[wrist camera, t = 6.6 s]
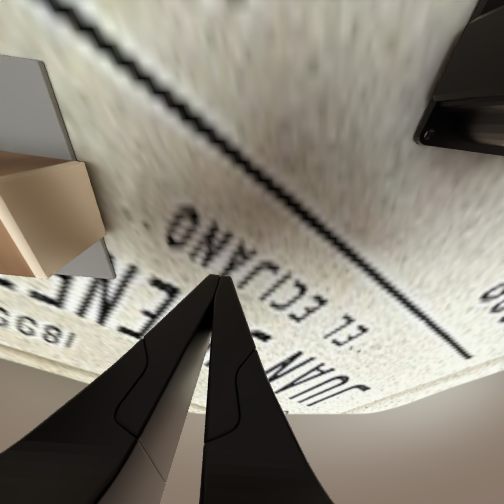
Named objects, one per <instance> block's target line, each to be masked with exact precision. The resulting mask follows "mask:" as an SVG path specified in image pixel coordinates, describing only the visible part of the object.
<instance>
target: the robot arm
mask: <svg viewBox="0 0 504 504" xmlns="http://www.w3.org/2000/svg"><path fill="white" fill-rule="evenodd" d="M428 130H429V135H428V136H427V138H424V136H425V133H426V132H427V131H428ZM415 142H416V143H417V144H421V145H428V146H436V147H443V148H450V149H457V150H465V151H472V152H479V153H486V154H494V155H501V156H504V0H481V1H480V3H479V5H478V7H477V9H476V11H475V13H474V15H473V17H472V19H471V21H470V23H469V24H468V25H467V27H466V28H465V30H464V33H463V35H462V37H461V39H460V41H459V43H458V45H457V47H456V49H455V51H454V53H453V55H452V57H451V59H450V61H449V63H448V65H447V68H446V70H445V72H444V74H443V76H442V78H441V80H440V82H439V84H438V86H437V88H436V90H435V92H434V97H433V99H432V101H431V103H430V105H429V107H428V109H427V111H426V113H425V115H424V117H423V119H422V121H421V123H420V125H419V128H418V130H417V132H416V134H415ZM210 338H211V347H210V361H209V376H208V390H207V404H206V419H205V434H204V447H203V461H202V474H201V475H202V476H201V488H200V499H199V504H335V503H334V502H333V500H332V499H331V498H330V496H329V495H328V494H327V492H326V491H325V489H324V488H323V486H322V485H321V483H320V482H319V480H318V478H317V477H316V475H315V473H314V472H313V470H312V468H311V466H310V464H309V463H308V461H307V459H306V457H305V455H304V453H303V451H302V449H301V447H300V445H299V443H298V441H297V439H296V437H295V435H294V433H293V431H292V429H291V427H290V425H289V423H288V421H287V419H286V416H285V414H284V412H283V410H282V408H281V406H280V404H279V402H278V400H277V398H276V396H275V394H274V392H273V389H272V387H271V385H270V383H269V381H268V378H267V376H266V373H265V371H264V368H263V365H262V363H261V360H260V357H259V355H258V352H257V350H256V346H255V344H254V341H253V338H252V335H251V332H250V329H249V327H248V324H247V321H246V318H245V315H244V312H243V309H242V307H241V304H240V301H239V298H238V295H237V292H236V290H235V287H234V284H233V281H232V278H231V277H230V276H223V275H222V276H220V275H215V274H210V275H208V276H207V277H206V278H205V279H204V280H203V281H202V282H201V283H200V284H199V285H198V286H197V287H196V288H195V289H194V290H193V291H191V292H190V293H189V294H188V295H187V296H186V297H185V298H184V299H183V300H182V301H181V302H180V303H179V304H178V305H177V306H176V307H175V308H173V309H172V310H171V311H170V312H169V313H168V314H167V315H166V316H165V317H164V318H163V319H162V320H161V321H160V322H159V323H158V324H157V325H156V326H154V327H153V328H152V329H151V330H150V331H149V332H148V333H147V334H146V335H145V336H144V339H141V340H140V341H138V342H137V343H136V344H135V345H134V346H133V347H132V348H131V349H130V350H129V351H128V352H127V353H126V354H124V355H123V356H122V357H121V358H120V359H119V360H118V361H117V362H116V363H114V364H113V365H112V366H111V367H110V368H108V369H107V370H106V371H105V372H104V373H102V374H101V375H100V376H99V377H98V378H96V379H95V380H94V381H93V382H92V383H90V384H89V385H88V386H87V387H85V388H84V389H83V390H82V391H80V392H79V393H78V394H77V395H75V396H74V397H73V398H72V399H70V400H69V401H68V402H67V403H65V405H63V406H62V407H60V408H59V409H58V410H57V411H56V412H54V413H53V414H52V415H50V416H49V417H48V418H47V419H46V420H44V421H43V422H42V423H41V424H39V425H38V426H37V427H36V428H34V429H33V430H32V431H30V432H29V433H28V434H27V435H25V436H24V437H23V438H22V439H20V440H19V441H17V442H16V443H14V444H13V445H12V446H10V447H9V448H7V449H6V450H4V451H3V452H1V453H0V504H160V500H161V497H162V494H163V491H164V487H165V482H166V481H167V478H168V474H169V471H170V468H171V465H172V461H173V458H174V455H175V452H176V448H177V445H178V442H179V439H180V435H181V432H182V429H183V426H184V422H185V418H186V416H187V413H188V409H189V406H190V403H191V400H192V396H193V393H194V390H195V386H196V383H197V380H198V377H199V373H200V370H201V367H202V364H203V360H204V357H205V354H206V351H207V347H208V344H209V341H210Z"/></svg>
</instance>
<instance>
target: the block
mask: <svg viewBox="0 0 504 504" xmlns="http://www.w3.org/2000/svg"><path fill="white" fill-rule="evenodd" d="M105 235H106V232H105V228H104V225H103V222H102V219H101V215H100V212H99V209H98V206H97V202H96V199H95V196H94V193H93V189H92V186H91V183H90V179H89V176H88V173H87V170H86V166H85V163H84V162H78V161H71V160H63V159H56V158H49V157H42V156H34V155H27V154H20V153H13V152H5V151H0V274H6V275H15V276H25V277H35V278H45V279H48V278H50V277H51V276H52V275H54V274H55V273H56V272H57V271H59V270H60V269H61V268H63V267H64V266H65V265H67V264H68V263H69V262H71V261H72V260H73V259H75V258H76V257H77V256H79V255H80V254H81V253H83V252H84V251H85V250H87V249H88V248H89V247H90V246H92V245H93V244H94V243H96V242H97V241H98V240H100V239H101V238H102V237H104V236H105Z"/></svg>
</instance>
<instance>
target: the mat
mask: <svg viewBox="0 0 504 504" xmlns="http://www.w3.org/2000/svg"><path fill="white" fill-rule="evenodd" d="M0 151H5V152H13V153H20V154H27V155H34V156H42V157H49V158H56V159H63V160H71V161H76V158H75V155H74V152H73V149H72V146H71V144H70V141H69V138H68V135H67V132H66V129H65V126H64V123H63V120H62V117H61V114H60V111H59V108H58V105H57V102H56V100H55V97H54V94H53V91H52V88H51V85H50V82H49V79H48V76H47V73H46V70H45V67H44V64H43V62H41V61H38V60H32V59H25V58H18V57H11V56H4V55H0ZM55 274H62V275H73V276H83V277H94V278H105V279H115V278H116V276H115V273H114V270H113V267H112V264H111V261H110V258H109V255H108V252H107V249H106V246H105V243H104V240H103V237H102V238H101V239H100V240H98V241H97V242H96V243H94V244H93V245H92V246H90V247H89V248H88V249H87V250H85V251H84V252H83V253H81V254H80V255H79V256H77V257H76V258H75V259H73V260H72V261H71V262H69V263H68V264H67V265H65V266H64V267H63V268H61V269H60V270H59V271H57V272H56V273H55Z"/></svg>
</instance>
